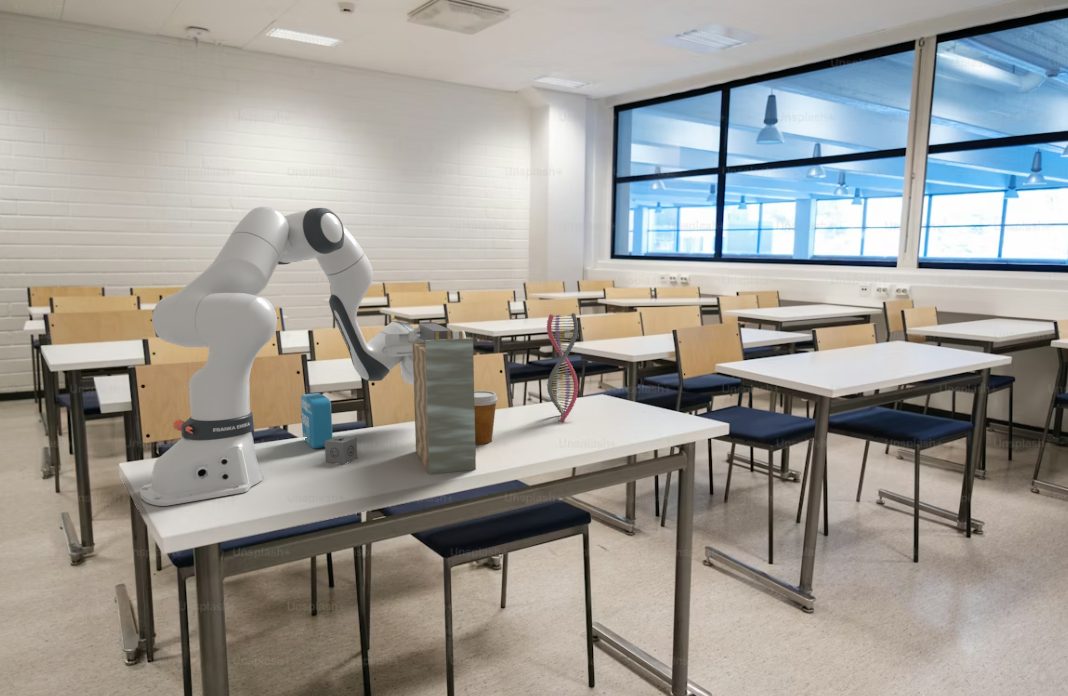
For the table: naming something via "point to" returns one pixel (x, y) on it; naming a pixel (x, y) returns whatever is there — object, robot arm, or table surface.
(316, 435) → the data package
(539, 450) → the table surface
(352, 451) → the dice cube
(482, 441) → the disposable coffee cup
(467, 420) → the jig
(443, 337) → the grey rectangular bar
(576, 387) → the dna model
